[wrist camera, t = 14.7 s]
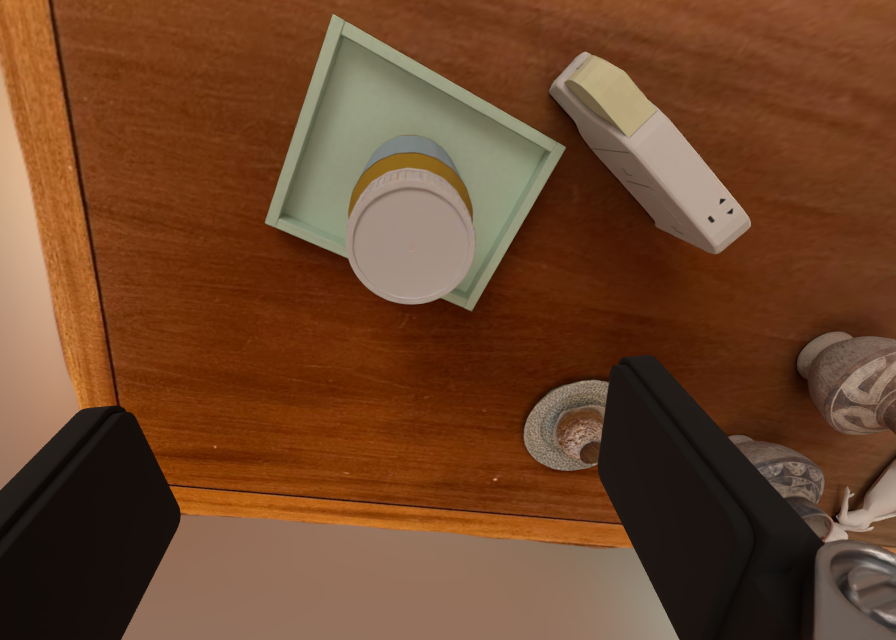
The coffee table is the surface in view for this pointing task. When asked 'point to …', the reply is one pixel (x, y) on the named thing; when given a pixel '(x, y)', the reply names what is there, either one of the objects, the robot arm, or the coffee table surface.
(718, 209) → the light grey boxy piece
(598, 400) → the pastry
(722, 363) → the coffee table surface
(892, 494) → the woman figurine
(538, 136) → the tray
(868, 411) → the pottery
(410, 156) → the bottle
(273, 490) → the coffee table surface
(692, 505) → the robot arm
